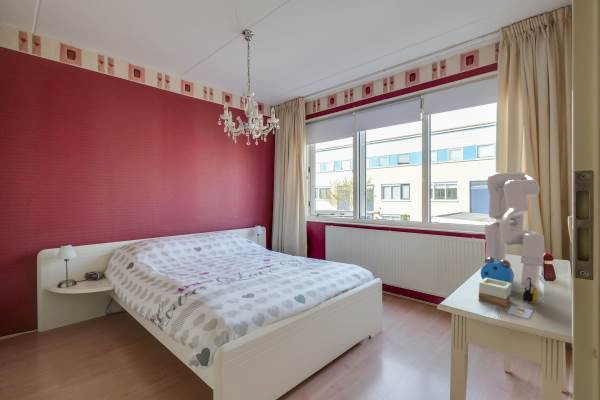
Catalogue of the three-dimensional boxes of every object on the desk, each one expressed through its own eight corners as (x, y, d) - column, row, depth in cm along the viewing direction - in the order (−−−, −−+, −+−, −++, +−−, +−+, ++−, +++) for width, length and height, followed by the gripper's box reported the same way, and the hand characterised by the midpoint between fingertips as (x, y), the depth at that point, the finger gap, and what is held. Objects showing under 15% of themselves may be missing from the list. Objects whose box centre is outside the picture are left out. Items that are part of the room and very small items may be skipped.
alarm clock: (513, 289, 140) (514, 260, 140) (509, 292, 137) (511, 262, 136) (484, 282, 151) (485, 255, 150) (479, 284, 147) (480, 256, 146)
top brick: (485, 286, 133) (485, 277, 133) (511, 292, 126) (511, 283, 126) (478, 292, 127) (479, 282, 126) (505, 298, 119) (506, 288, 119)
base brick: (484, 294, 134) (485, 286, 133) (510, 301, 126) (511, 292, 126) (478, 300, 127) (478, 292, 127) (505, 308, 119) (505, 298, 119)
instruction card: (512, 305, 122) (512, 305, 122) (532, 311, 117) (532, 310, 117) (506, 312, 115) (506, 312, 115) (528, 318, 110) (528, 318, 110)
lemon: (539, 306, 122) (540, 288, 121) (524, 304, 124) (525, 286, 123) (534, 301, 127) (535, 283, 126) (519, 299, 129) (520, 282, 128)
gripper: (524, 255, 133) (523, 291, 134) (517, 262, 121) (515, 301, 122) (545, 258, 127) (543, 295, 128) (539, 266, 115) (537, 306, 116)
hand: (529, 298), depth 125 cm, fingers open, 9 cm apart
